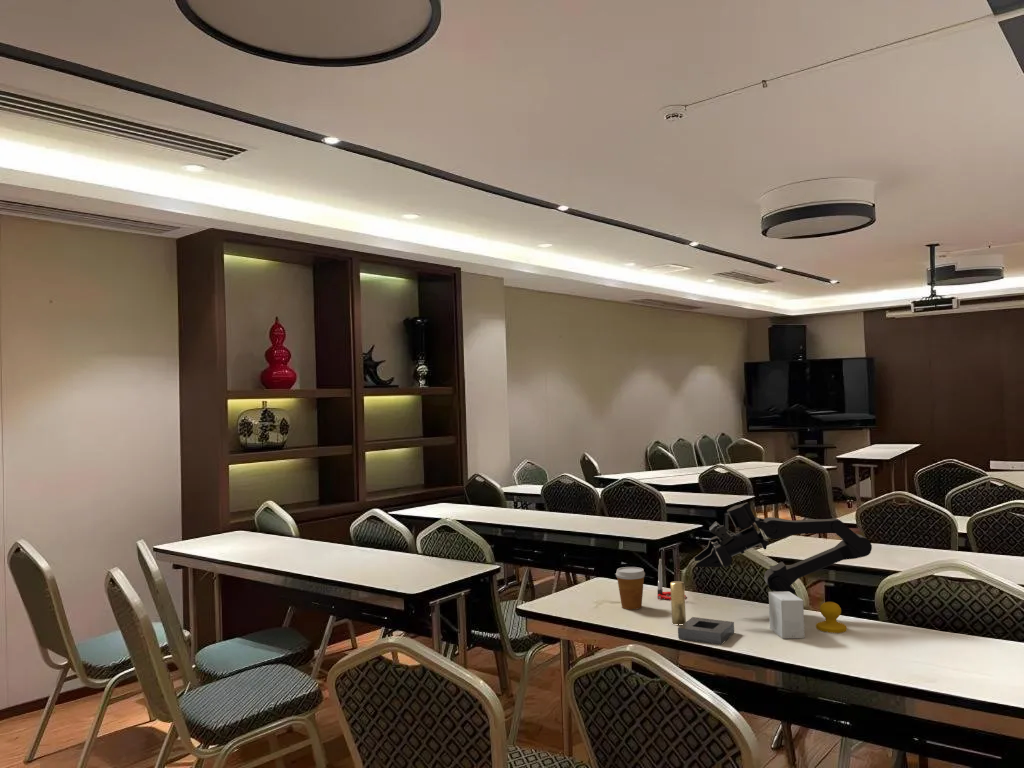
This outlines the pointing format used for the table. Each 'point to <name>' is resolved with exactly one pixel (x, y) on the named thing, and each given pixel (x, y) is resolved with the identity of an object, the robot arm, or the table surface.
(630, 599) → the disposable coffee cup
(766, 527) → the robot arm
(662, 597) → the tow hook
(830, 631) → the doorknob
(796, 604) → the skincare box
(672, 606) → the brass pin
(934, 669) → the table surface
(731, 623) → the block
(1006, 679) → the table surface
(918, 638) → the table surface
